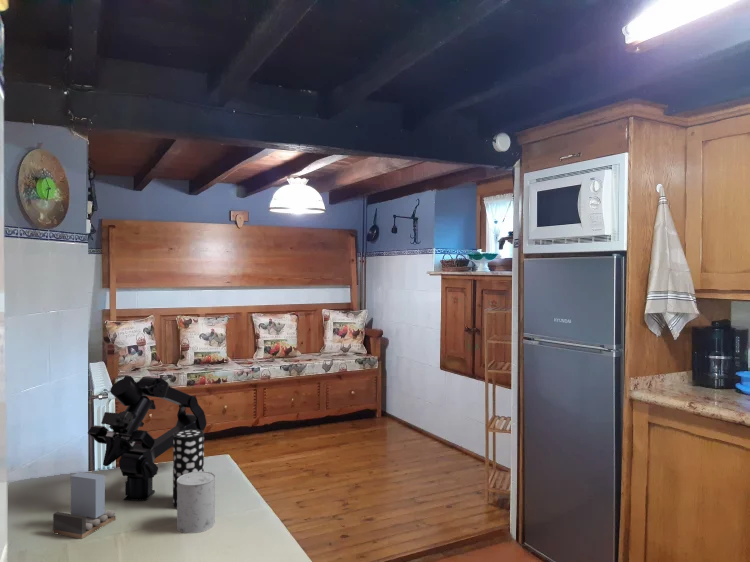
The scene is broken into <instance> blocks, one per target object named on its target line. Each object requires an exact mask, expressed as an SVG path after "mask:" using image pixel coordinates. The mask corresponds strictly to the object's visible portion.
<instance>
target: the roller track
mask: <svg viewBox="0 0 750 562" xmlns="http://www.w3.org/2000/svg"><path fill="white" fill-rule="evenodd" d="M115 514H116V511H114V510H109V509H105V514H103V515H101V516H99V517H97V518H90V517H86V516H80V515H74V514H71V513H67V512H62V511H57V512H56V511H55V512H54V513H53V515H52V516H53V521H52V522H53V523H52V524H53V525H52V527H53V532H54V533H58V534H57V535H59V534H61V535H60V536H65V537H71V538H76V539H81V540H82V539H85V538H86V537H88V536H89V535H91V534H93V533H94V531H95V530H96V531H98V530H99V528H100V527H102V526H103V527H105V526H107V525H109V524H110V523H112V522H113V521H116V515H115ZM103 527H102V528H103ZM97 529H98V530H97ZM100 529H101V528H100ZM96 531H95V532H96ZM92 532H93V533H92ZM54 533H53V534H54Z"/></svg>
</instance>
